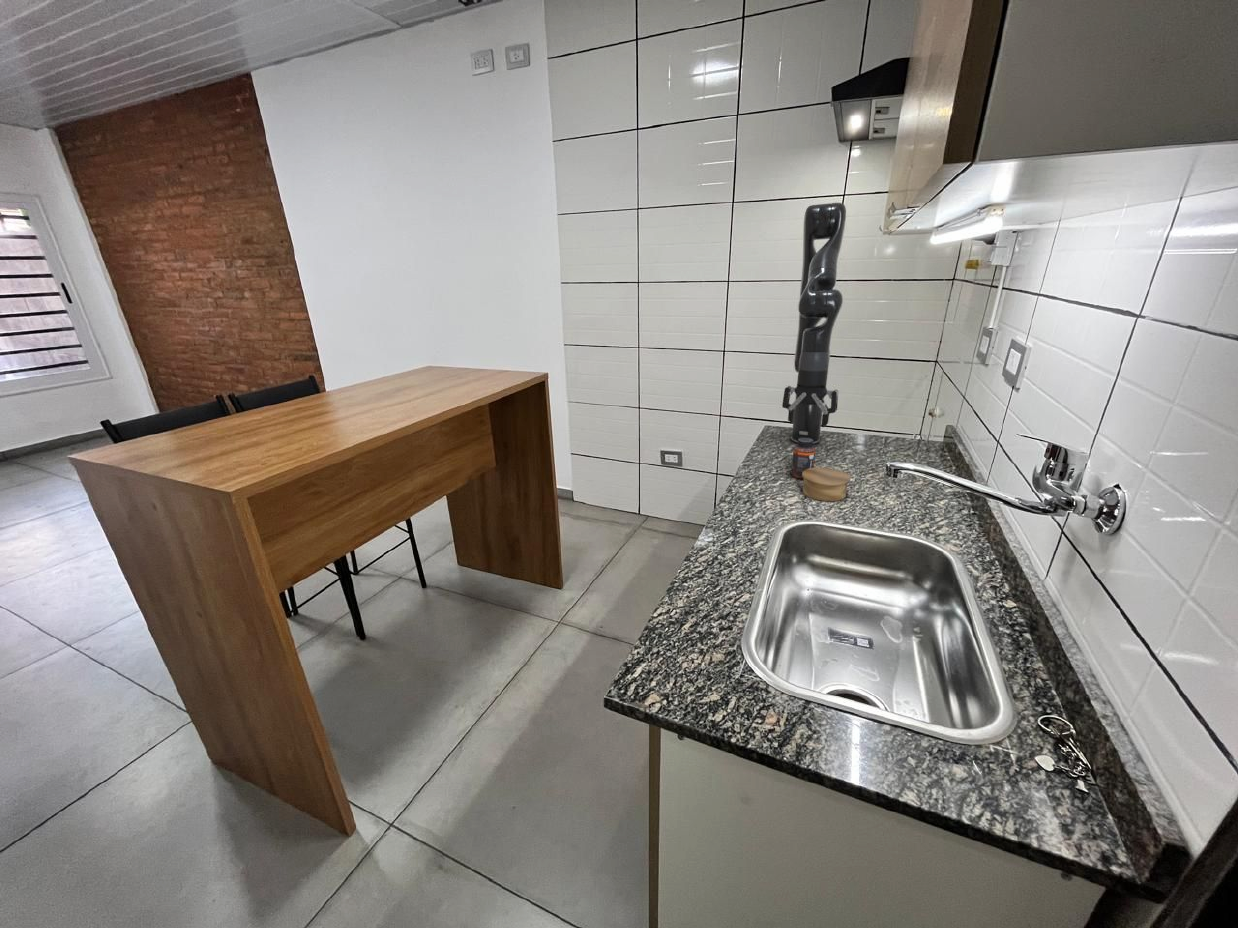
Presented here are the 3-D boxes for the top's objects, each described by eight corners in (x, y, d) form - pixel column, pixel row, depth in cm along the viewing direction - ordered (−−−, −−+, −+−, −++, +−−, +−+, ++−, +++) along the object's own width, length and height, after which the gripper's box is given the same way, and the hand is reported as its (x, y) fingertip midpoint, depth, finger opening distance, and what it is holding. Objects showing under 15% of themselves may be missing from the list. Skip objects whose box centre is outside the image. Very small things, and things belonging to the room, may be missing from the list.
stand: (806, 480, 140) (808, 464, 138) (851, 488, 133) (854, 472, 132) (795, 496, 130) (797, 479, 129) (843, 505, 124) (845, 487, 122)
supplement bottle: (815, 479, 140) (820, 442, 136) (794, 480, 140) (798, 443, 136) (808, 471, 146) (812, 436, 142) (788, 472, 146) (792, 436, 142)
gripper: (844, 366, 131) (836, 424, 136) (790, 363, 138) (785, 418, 144) (838, 371, 125) (831, 431, 131) (783, 368, 132) (778, 425, 138)
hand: (807, 424), depth 137 cm, fingers open, 8 cm apart
